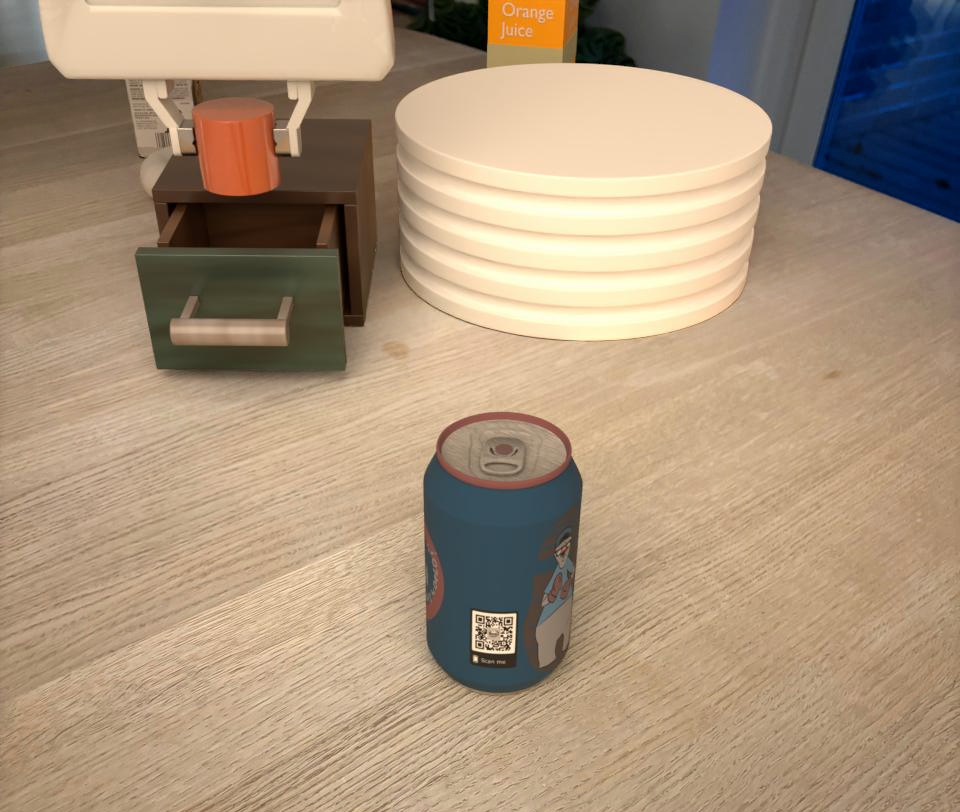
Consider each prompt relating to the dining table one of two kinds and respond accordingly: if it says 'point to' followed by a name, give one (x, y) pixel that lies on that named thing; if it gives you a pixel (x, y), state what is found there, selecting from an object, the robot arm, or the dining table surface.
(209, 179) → the orange cylinder block
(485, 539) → the soda can
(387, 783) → the dining table surface
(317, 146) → the cabinet
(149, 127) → the coffee box
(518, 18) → the orange juice
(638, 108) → the plate stack
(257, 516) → the dining table surface
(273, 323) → the drawer
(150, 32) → the robot arm
